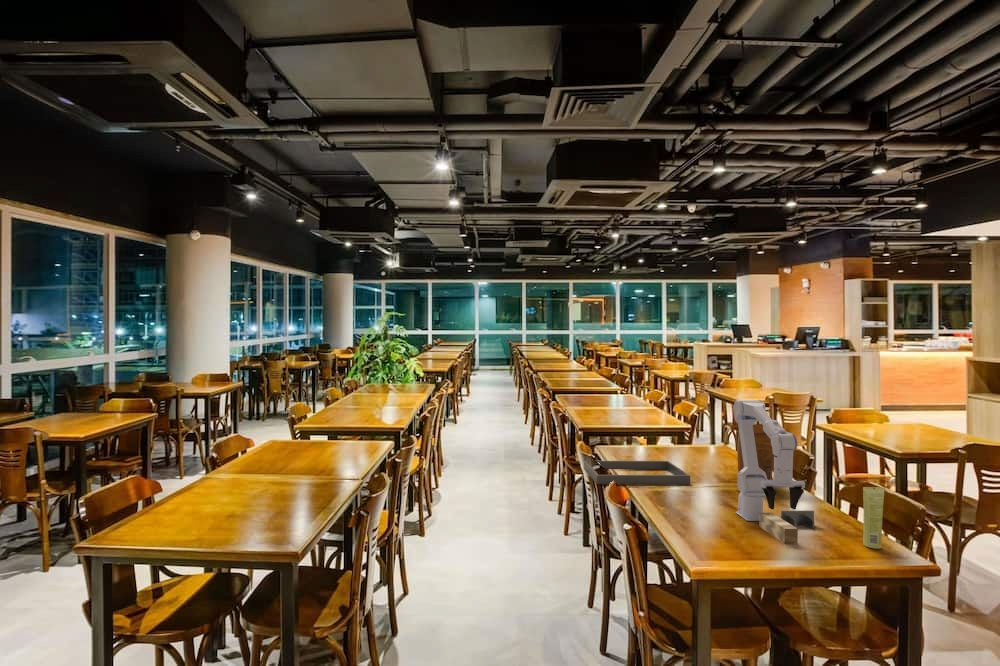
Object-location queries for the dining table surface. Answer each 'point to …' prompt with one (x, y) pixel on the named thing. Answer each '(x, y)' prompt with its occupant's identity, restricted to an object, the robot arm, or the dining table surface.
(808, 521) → the bracket
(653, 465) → the paper frame
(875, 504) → the tube
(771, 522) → the rail
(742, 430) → the robot arm
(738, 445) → the pancake mix bag
